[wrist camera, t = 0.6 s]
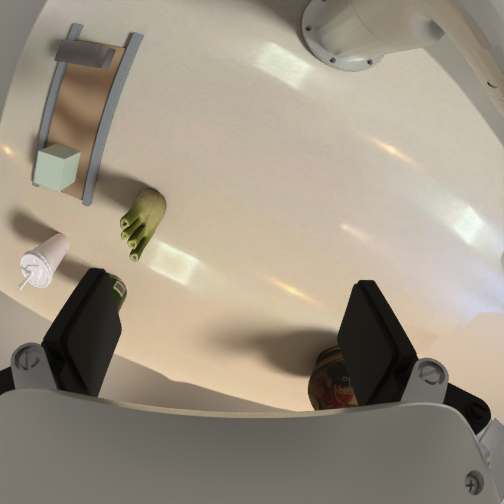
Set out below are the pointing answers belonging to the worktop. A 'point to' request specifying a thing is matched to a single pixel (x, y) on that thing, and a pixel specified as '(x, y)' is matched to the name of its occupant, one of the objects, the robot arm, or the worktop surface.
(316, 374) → the ceramic jug
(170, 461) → the robot arm
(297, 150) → the worktop surface
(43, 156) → the block
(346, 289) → the worktop surface
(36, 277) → the smoothie
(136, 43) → the lane rails
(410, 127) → the worktop surface
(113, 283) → the beer can
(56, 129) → the strip
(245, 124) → the worktop surface
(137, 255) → the fennel bulb
